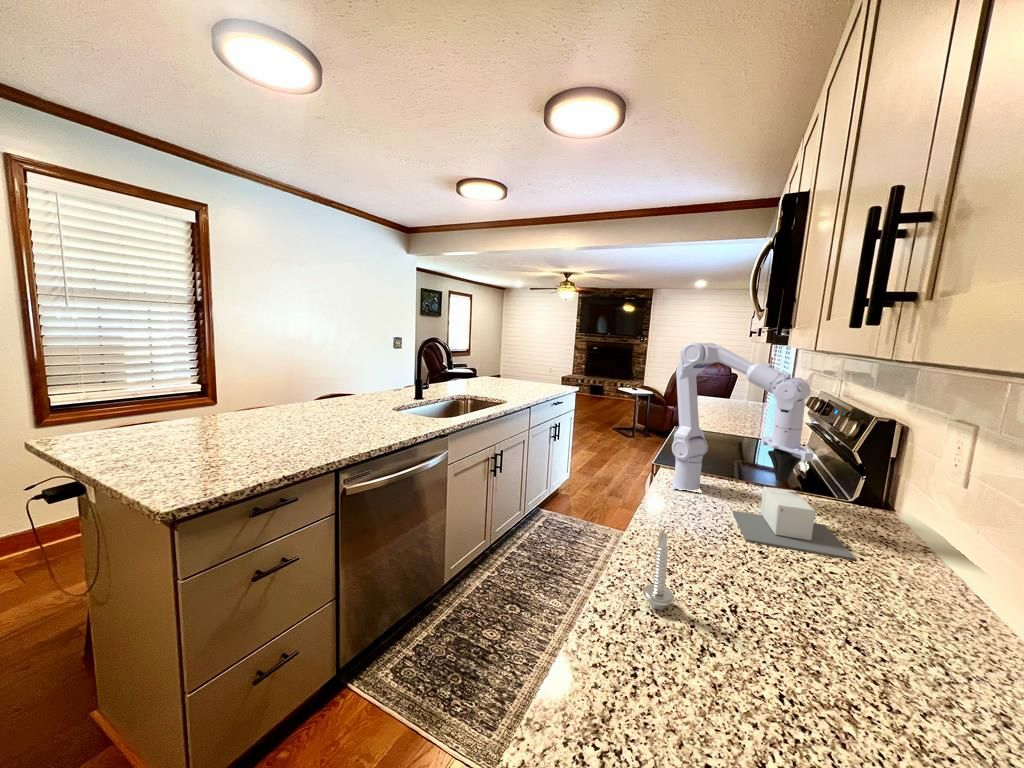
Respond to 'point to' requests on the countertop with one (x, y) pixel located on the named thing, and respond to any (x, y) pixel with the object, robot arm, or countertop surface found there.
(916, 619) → the countertop surface
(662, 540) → the screw
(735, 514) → the mat
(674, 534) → the countertop surface
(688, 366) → the robot arm
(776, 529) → the supplement box
